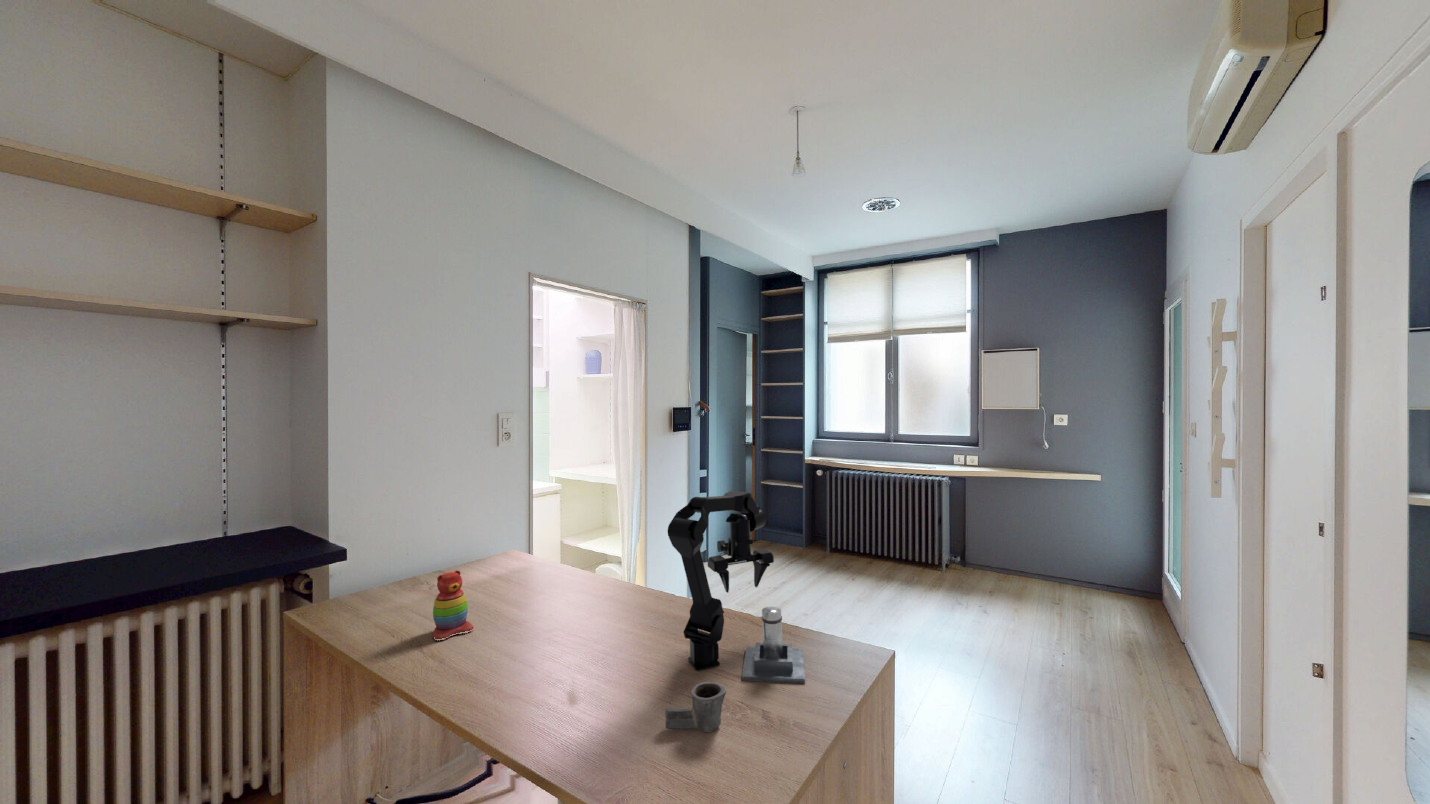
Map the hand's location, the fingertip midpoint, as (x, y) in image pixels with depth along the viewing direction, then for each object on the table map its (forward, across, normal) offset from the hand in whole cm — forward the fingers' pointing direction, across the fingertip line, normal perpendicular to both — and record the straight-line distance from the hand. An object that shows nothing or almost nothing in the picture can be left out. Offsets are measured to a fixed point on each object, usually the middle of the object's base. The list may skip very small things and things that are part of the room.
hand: (741, 589), depth 150 cm
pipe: (+13, +27, +34) cm, 46 cm away
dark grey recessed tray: (+13, 0, +19) cm, 23 cm away
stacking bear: (+13, +78, -40) cm, 89 cm away
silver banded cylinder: (+12, 0, +19) cm, 22 cm away
